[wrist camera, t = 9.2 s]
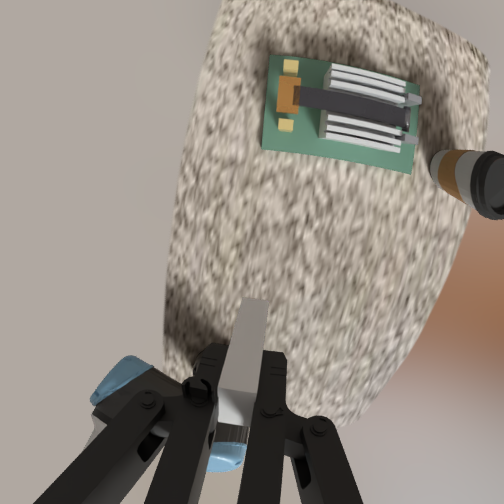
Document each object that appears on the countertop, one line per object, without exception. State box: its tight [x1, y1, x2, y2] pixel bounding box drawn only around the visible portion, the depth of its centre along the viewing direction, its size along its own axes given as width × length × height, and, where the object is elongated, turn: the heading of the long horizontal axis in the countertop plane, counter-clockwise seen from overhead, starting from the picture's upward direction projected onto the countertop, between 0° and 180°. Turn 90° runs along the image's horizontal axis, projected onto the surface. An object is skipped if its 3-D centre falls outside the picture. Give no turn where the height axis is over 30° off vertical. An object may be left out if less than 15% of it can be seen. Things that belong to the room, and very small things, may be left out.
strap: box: [276, 76, 411, 133], centre depth 27 cm, size 16×4×1 cm, turn 85°
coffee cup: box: [430, 150, 504, 220], centre depth 27 cm, size 8×8×15 cm
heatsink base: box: [261, 55, 422, 175], centre depth 29 cm, size 22×14×9 cm, turn 85°
